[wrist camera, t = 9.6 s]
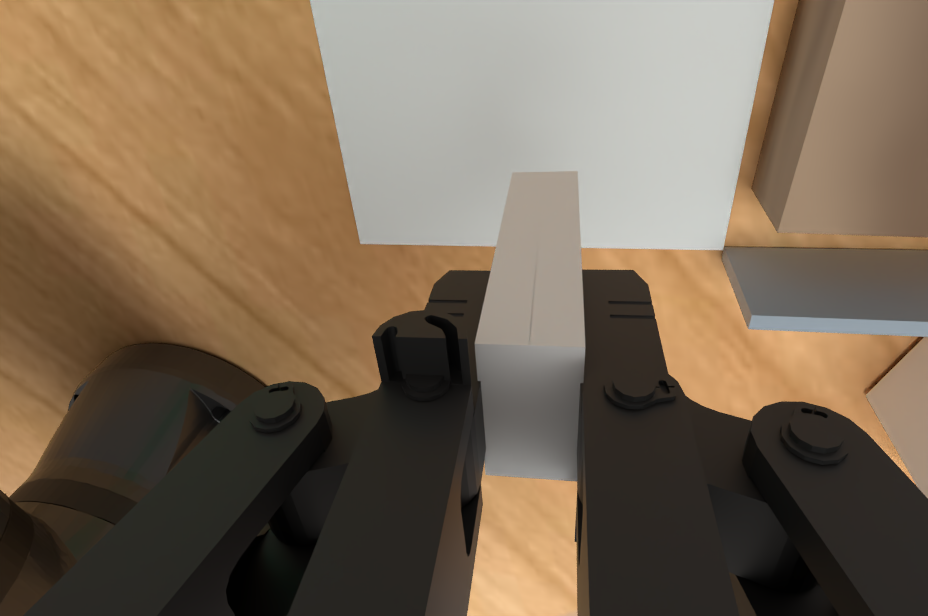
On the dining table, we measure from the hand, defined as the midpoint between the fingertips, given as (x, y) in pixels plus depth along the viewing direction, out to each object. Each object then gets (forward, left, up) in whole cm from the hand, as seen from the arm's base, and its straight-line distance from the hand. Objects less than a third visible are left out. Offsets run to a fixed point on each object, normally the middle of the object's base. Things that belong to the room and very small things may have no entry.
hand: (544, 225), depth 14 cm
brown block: (+11, 0, -10) cm, 15 cm away
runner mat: (-1, 0, -10) cm, 10 cm away
